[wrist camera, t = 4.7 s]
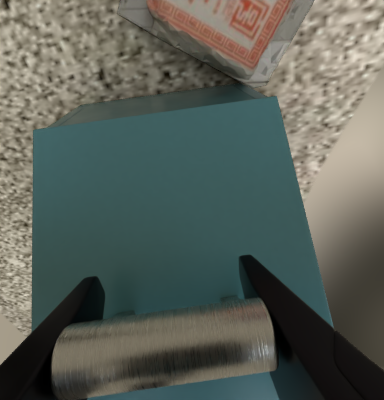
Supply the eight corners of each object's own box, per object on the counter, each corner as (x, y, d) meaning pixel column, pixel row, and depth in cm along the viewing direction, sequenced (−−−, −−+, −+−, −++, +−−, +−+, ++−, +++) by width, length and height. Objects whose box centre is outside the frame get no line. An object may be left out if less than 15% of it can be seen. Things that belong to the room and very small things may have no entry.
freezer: (241, 221, 24) (261, 270, 19) (126, 237, 24) (113, 291, 19) (240, 82, 17) (271, 98, 12) (80, 104, 17) (41, 130, 12)
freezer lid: (347, 416, 9) (513, 597, 4) (42, 461, 9) (-135, 695, 4) (272, 104, 12) (321, 4, 7) (41, 136, 12) (-63, 57, 7)
